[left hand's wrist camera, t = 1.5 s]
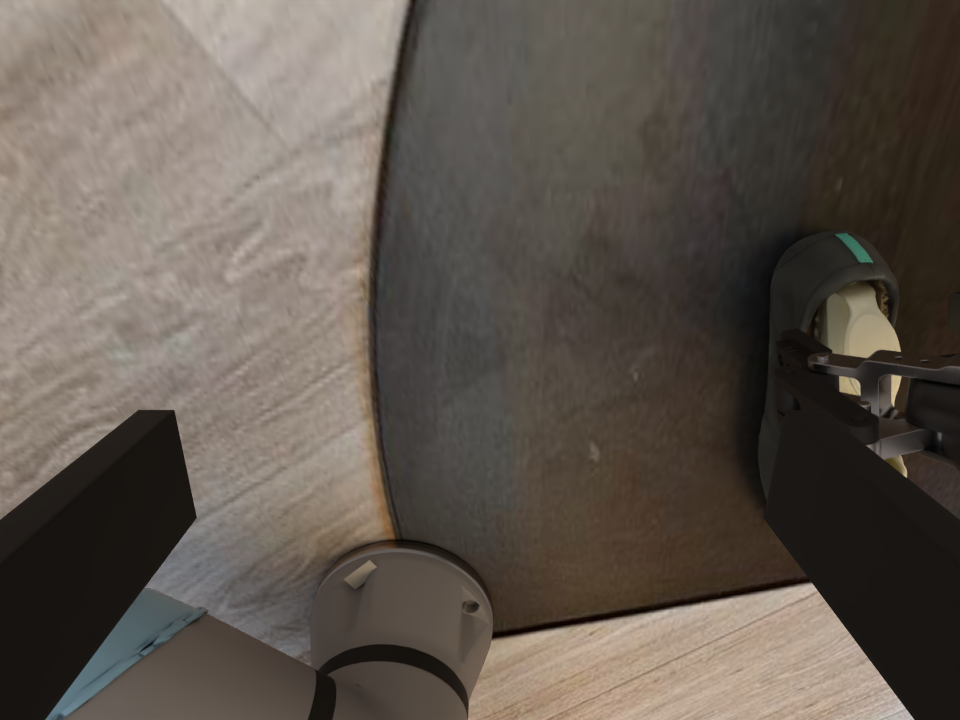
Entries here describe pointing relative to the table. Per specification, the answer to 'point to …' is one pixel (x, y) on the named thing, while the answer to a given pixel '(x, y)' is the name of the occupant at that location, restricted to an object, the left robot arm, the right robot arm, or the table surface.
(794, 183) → the table surface
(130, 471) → the left robot arm
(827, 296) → the ballet flat
